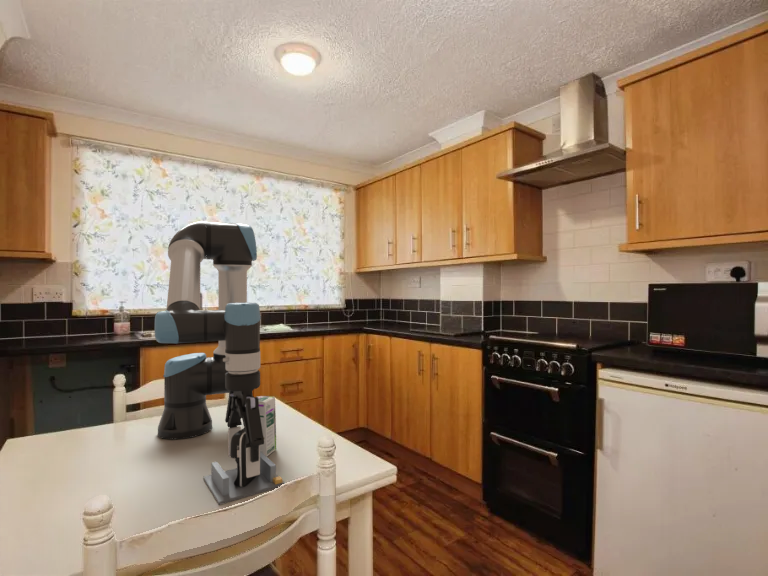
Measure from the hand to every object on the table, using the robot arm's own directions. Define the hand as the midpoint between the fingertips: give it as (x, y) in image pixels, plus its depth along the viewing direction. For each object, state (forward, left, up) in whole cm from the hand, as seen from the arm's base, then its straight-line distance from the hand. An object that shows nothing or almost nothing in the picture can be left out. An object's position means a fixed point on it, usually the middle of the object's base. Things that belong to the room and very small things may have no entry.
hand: (243, 464), depth 93 cm
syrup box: (-14, +9, -4) cm, 17 cm away
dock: (0, 0, -4) cm, 4 cm away
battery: (+1, 0, -4) cm, 4 cm away
